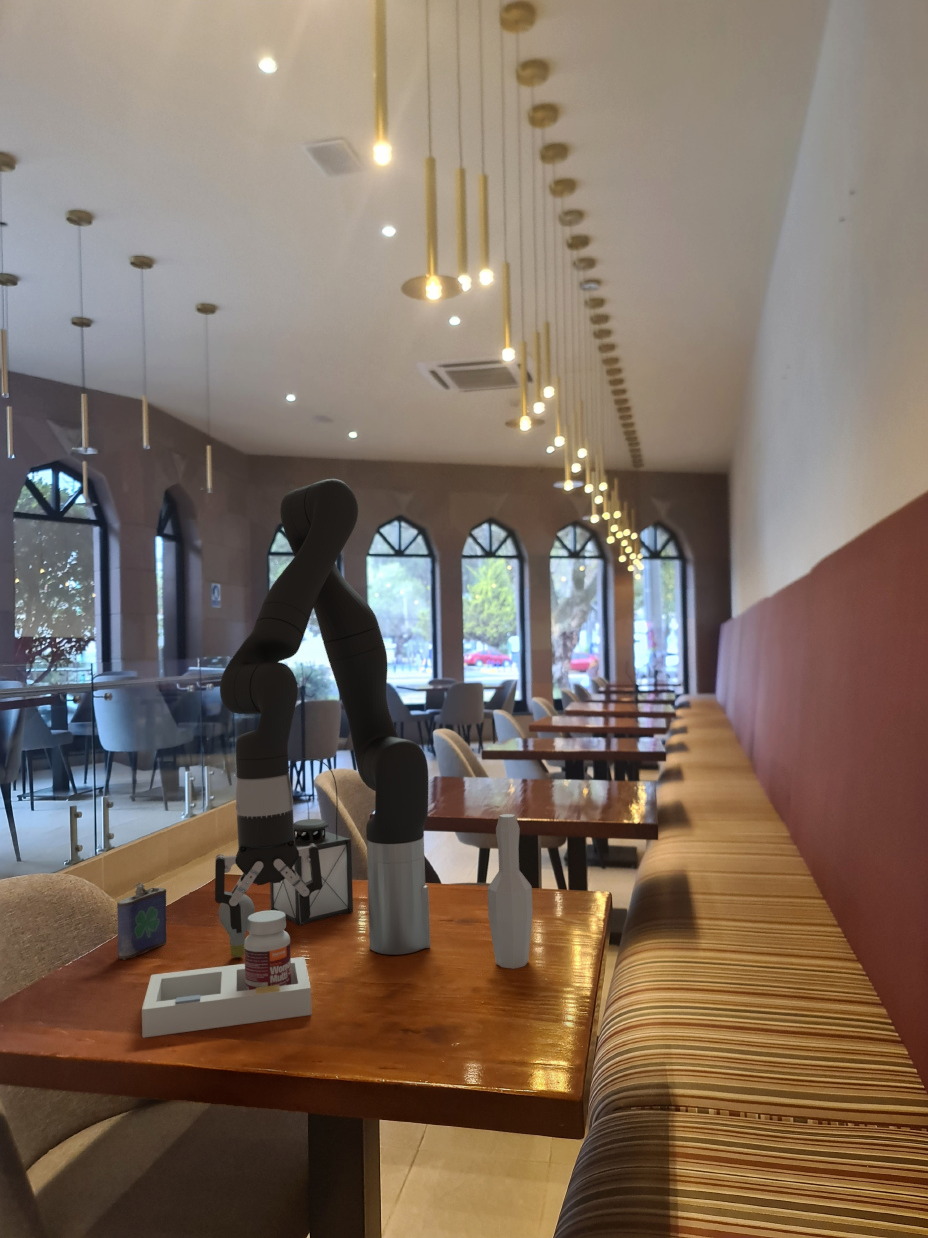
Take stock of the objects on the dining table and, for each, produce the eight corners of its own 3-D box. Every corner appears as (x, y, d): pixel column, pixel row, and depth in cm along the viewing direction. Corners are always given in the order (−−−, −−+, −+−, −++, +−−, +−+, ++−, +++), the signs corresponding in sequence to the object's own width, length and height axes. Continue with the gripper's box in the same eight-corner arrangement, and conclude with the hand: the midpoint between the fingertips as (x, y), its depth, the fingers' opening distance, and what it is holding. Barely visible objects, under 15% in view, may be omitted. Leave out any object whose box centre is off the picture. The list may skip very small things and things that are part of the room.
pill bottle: (277, 1010, 116) (275, 924, 116) (236, 1006, 117) (234, 921, 118) (299, 992, 121) (297, 910, 122) (260, 988, 123) (258, 907, 124)
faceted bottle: (541, 961, 131) (536, 814, 132) (514, 974, 127) (509, 821, 127) (509, 952, 136) (504, 810, 136) (482, 964, 131) (477, 816, 132)
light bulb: (246, 965, 134) (244, 899, 134) (213, 963, 135) (211, 898, 135) (261, 952, 139) (259, 889, 139) (229, 951, 140) (228, 888, 140)
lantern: (353, 912, 158) (350, 757, 159) (297, 926, 151) (294, 764, 152) (323, 899, 167) (320, 752, 168) (269, 912, 160) (266, 758, 161)
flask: (125, 961, 137) (123, 892, 137) (112, 958, 138) (111, 890, 139) (170, 942, 145) (169, 877, 145) (158, 940, 146) (156, 876, 147)
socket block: (305, 981, 126) (304, 954, 127) (311, 1015, 115) (310, 985, 115) (151, 1000, 121) (151, 972, 121) (142, 1038, 110) (141, 1007, 110)
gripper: (314, 798, 125) (320, 911, 125) (211, 808, 121) (216, 926, 121) (320, 807, 118) (326, 928, 118) (210, 819, 114) (217, 944, 114)
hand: (270, 926), depth 119 cm, fingers open, 8 cm apart
